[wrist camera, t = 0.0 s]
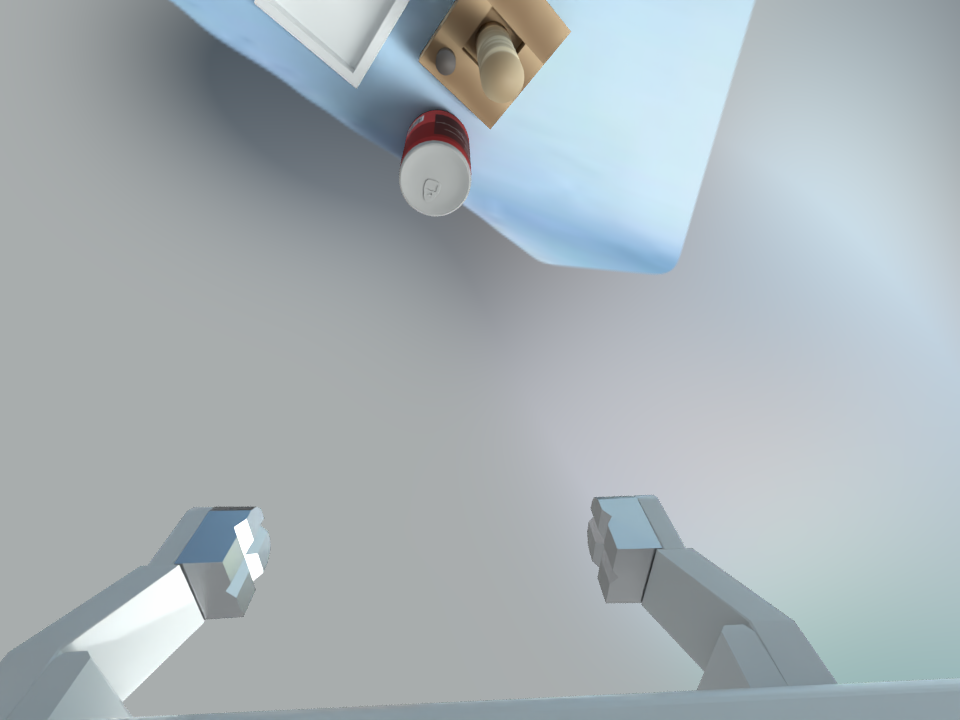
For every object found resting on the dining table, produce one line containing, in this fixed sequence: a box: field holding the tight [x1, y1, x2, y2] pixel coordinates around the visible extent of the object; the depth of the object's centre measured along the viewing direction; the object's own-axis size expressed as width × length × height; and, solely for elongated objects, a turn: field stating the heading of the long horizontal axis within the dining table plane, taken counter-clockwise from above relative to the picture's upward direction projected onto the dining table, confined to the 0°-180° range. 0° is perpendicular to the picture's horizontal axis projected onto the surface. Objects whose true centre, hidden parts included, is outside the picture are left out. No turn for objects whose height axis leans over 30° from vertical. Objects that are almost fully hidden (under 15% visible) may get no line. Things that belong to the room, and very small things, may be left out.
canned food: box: [399, 110, 471, 216], centre depth 50 cm, size 8×8×11 cm
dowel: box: [475, 21, 524, 103], centre depth 41 cm, size 4×4×14 cm
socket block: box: [419, 0, 571, 129], centre depth 45 cm, size 12×10×5 cm
